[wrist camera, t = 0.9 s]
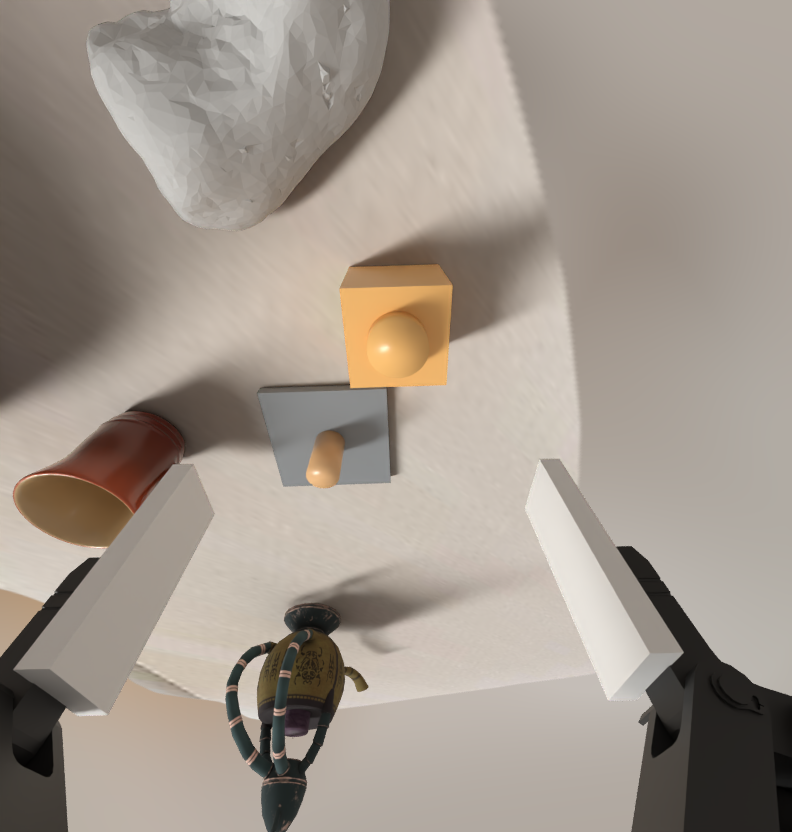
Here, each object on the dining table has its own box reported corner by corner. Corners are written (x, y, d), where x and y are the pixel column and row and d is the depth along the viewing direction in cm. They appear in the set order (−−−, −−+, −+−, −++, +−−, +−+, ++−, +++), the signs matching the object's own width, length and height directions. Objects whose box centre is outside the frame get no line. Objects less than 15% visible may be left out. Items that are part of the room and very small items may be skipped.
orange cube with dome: (349, 266, 27) (336, 295, 20) (438, 264, 27) (457, 291, 20) (357, 350, 31) (348, 399, 24) (434, 347, 31) (449, 396, 24)
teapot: (309, 580, 51) (261, 824, 31) (393, 647, 63) (396, 852, 43) (246, 603, 54) (167, 839, 34) (338, 663, 66) (318, 861, 47)
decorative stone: (234, 277, 25) (76, 197, 15) (173, 169, 26) (-13, 29, 16) (439, 103, 21) (401, -155, 11) (357, -17, 22) (257, -348, 12)
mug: (102, 450, 37) (15, 531, 28) (107, 385, 32) (7, 456, 24) (218, 487, 40) (172, 568, 31) (237, 432, 36) (190, 509, 27)
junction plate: (260, 388, 33) (237, 424, 28) (386, 383, 33) (386, 419, 28) (285, 480, 39) (270, 522, 34) (390, 476, 40) (391, 518, 35)
